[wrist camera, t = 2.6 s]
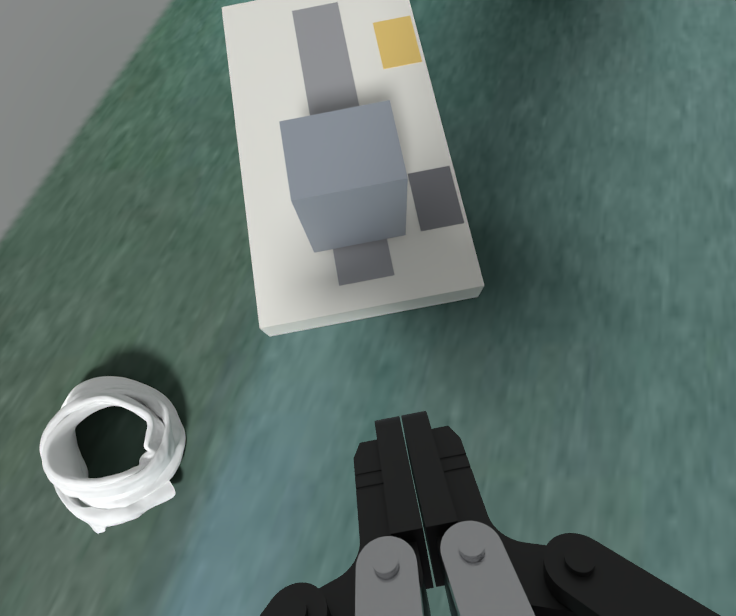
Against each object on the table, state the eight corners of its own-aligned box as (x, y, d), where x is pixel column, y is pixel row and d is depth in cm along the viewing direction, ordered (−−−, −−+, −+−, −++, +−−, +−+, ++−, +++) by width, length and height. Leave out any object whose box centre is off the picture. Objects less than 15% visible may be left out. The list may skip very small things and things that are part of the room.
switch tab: (391, 170, 26) (389, 100, 21) (405, 235, 25) (407, 178, 20) (303, 187, 26) (279, 121, 21) (314, 252, 25) (291, 200, 20)
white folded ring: (60, 416, 27) (-21, 411, 22) (156, 351, 27) (95, 332, 23) (108, 547, 24) (28, 571, 20) (215, 474, 25) (159, 481, 20)
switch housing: (401, -1, 32) (401, -29, 30) (478, 296, 26) (484, 285, 24) (232, 32, 33) (221, 6, 31) (269, 336, 26) (259, 328, 24)
